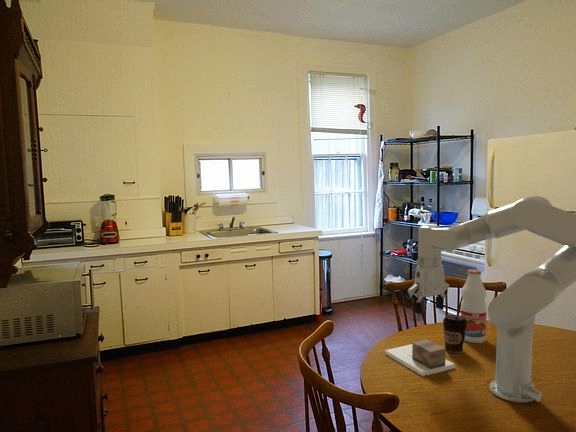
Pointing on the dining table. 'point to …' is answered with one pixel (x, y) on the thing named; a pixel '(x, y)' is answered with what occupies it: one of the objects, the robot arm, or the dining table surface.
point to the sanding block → (428, 354)
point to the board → (405, 358)
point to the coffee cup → (454, 333)
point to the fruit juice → (474, 307)
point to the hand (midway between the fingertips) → (428, 310)
